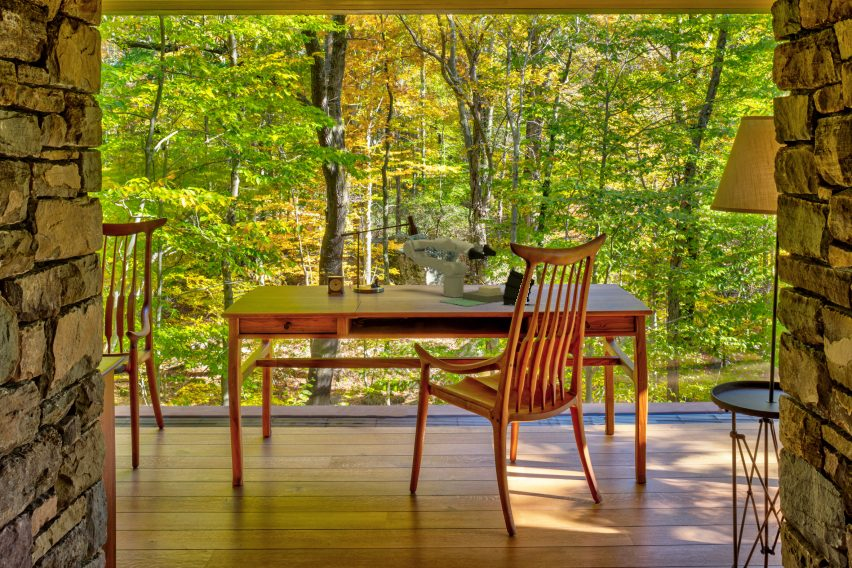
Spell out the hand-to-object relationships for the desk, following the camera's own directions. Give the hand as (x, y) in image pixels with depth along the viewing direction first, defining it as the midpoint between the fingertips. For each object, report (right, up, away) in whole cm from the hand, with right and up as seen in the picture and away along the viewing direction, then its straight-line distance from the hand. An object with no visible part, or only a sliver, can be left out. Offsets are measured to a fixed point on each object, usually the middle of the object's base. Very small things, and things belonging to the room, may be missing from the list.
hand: (489, 255), depth 347 cm
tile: (0, -15, +6) cm, 16 cm away
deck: (-1, -20, +6) cm, 20 cm away
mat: (-12, -21, -3) cm, 24 cm away
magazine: (+12, -22, -8) cm, 26 cm away
